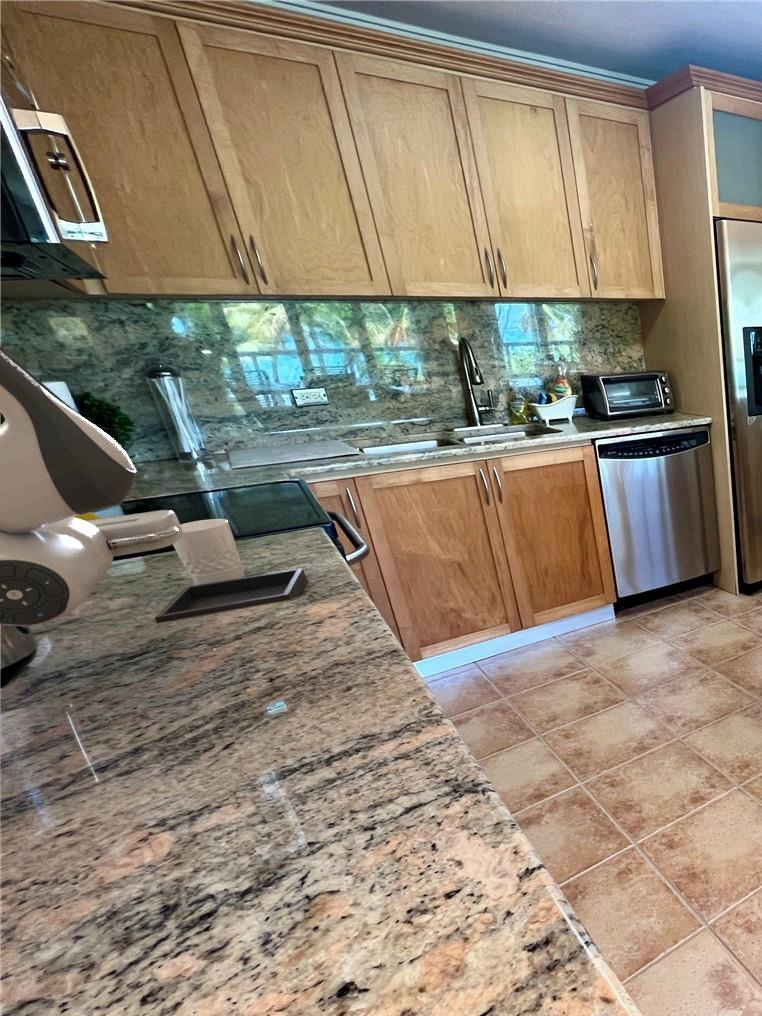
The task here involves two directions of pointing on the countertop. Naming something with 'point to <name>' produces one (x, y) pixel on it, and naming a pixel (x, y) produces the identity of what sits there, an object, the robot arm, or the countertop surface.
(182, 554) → the white cup
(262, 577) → the tray
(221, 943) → the countertop surface
